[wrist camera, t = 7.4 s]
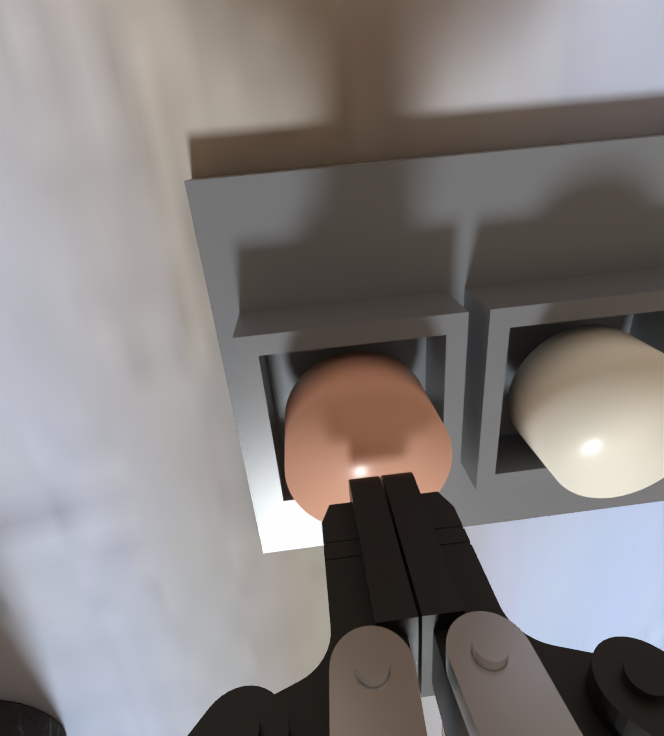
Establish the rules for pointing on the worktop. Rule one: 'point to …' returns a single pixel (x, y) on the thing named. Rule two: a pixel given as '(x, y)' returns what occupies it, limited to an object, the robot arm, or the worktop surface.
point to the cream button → (593, 410)
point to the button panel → (430, 297)
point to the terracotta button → (360, 429)
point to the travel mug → (26, 721)
